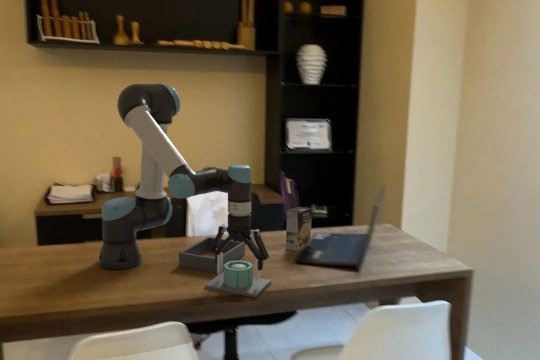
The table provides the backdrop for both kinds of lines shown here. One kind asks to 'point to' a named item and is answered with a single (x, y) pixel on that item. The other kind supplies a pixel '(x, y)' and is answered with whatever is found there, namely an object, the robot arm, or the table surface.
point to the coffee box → (298, 228)
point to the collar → (238, 274)
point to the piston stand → (247, 291)
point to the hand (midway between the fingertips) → (238, 275)
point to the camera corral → (195, 261)
